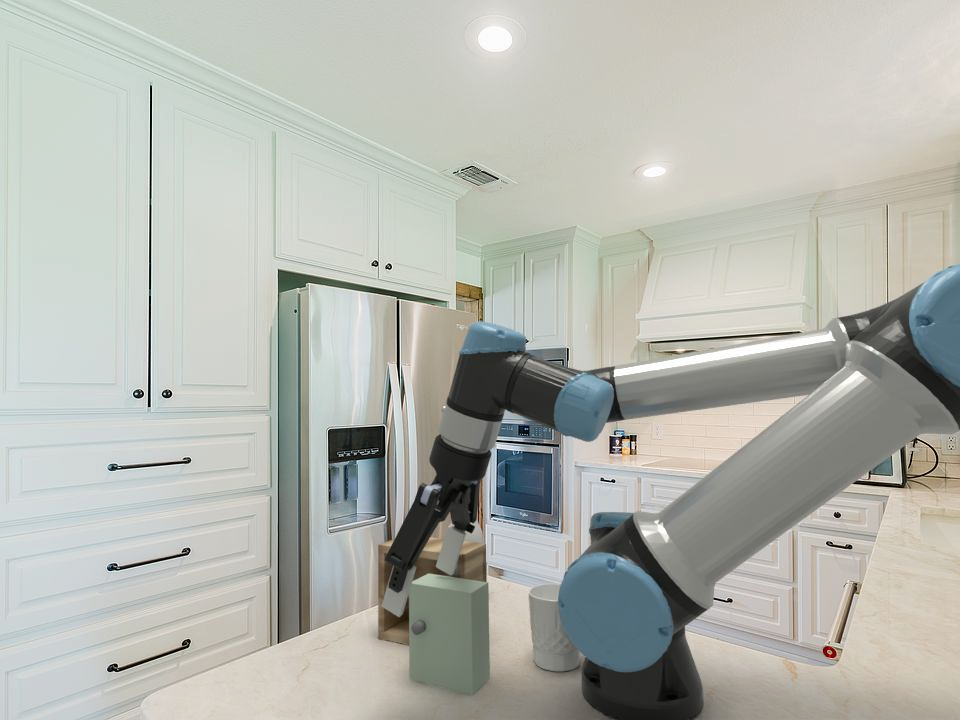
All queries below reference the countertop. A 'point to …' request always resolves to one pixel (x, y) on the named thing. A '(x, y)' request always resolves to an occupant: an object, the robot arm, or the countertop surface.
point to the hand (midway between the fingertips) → (420, 589)
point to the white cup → (550, 631)
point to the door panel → (449, 633)
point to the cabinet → (467, 568)
